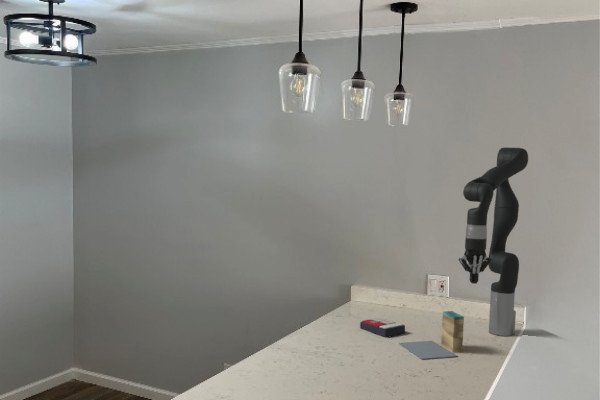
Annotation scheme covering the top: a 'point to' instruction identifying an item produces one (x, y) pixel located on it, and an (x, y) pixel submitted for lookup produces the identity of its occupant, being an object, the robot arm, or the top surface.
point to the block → (452, 331)
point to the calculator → (383, 327)
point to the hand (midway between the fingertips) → (473, 283)
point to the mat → (427, 350)
